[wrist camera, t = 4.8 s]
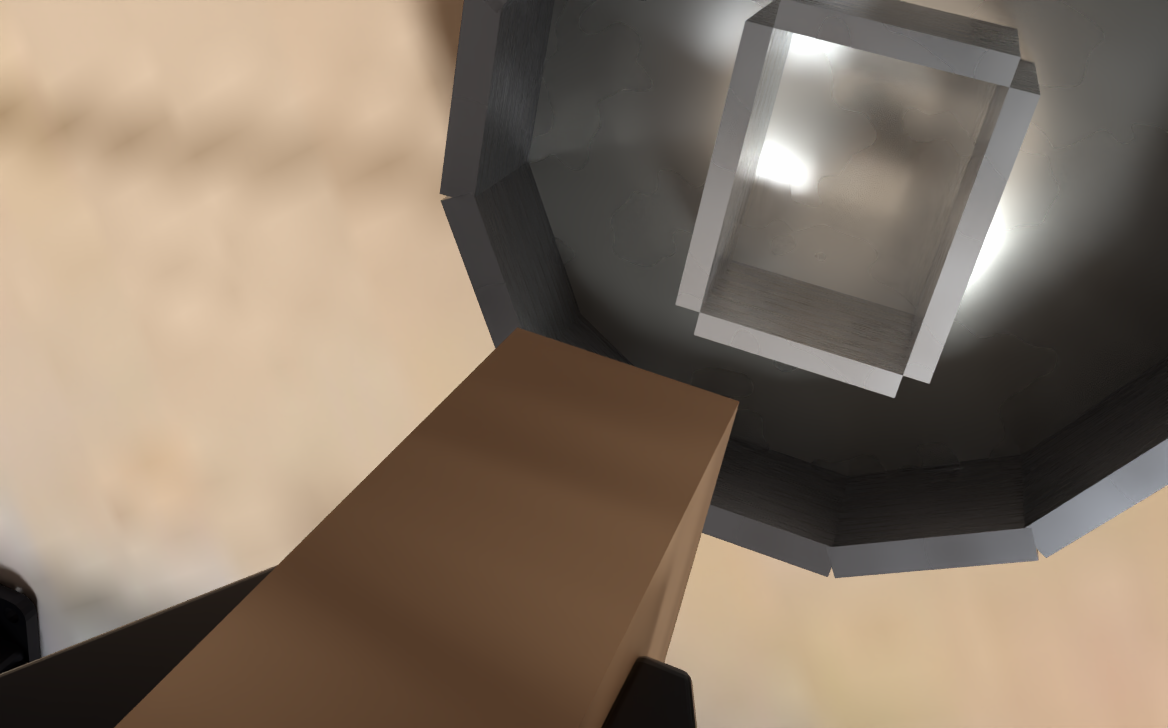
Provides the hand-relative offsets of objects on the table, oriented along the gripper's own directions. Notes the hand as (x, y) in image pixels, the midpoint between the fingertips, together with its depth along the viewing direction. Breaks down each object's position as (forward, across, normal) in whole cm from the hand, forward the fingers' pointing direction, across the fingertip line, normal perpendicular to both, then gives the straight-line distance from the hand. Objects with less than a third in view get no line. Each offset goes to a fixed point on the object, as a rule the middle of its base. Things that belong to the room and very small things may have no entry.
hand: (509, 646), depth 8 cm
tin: (+13, -1, -1) cm, 13 cm away
